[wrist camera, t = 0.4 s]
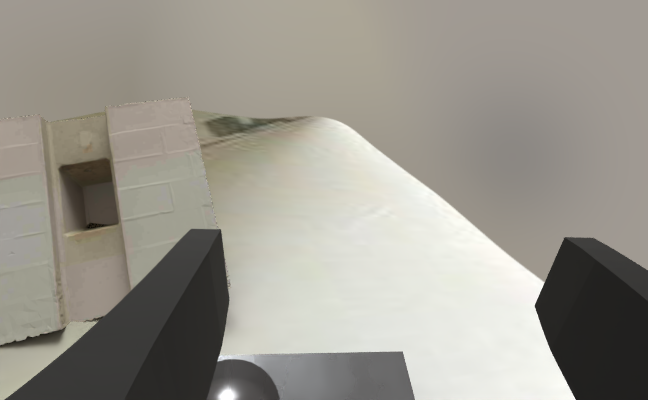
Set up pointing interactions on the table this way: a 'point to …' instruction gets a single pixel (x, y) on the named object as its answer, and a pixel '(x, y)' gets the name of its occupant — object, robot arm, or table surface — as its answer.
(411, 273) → the table surface
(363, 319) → the table surface
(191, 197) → the grey angled piece
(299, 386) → the grey slotted base box
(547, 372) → the table surface
